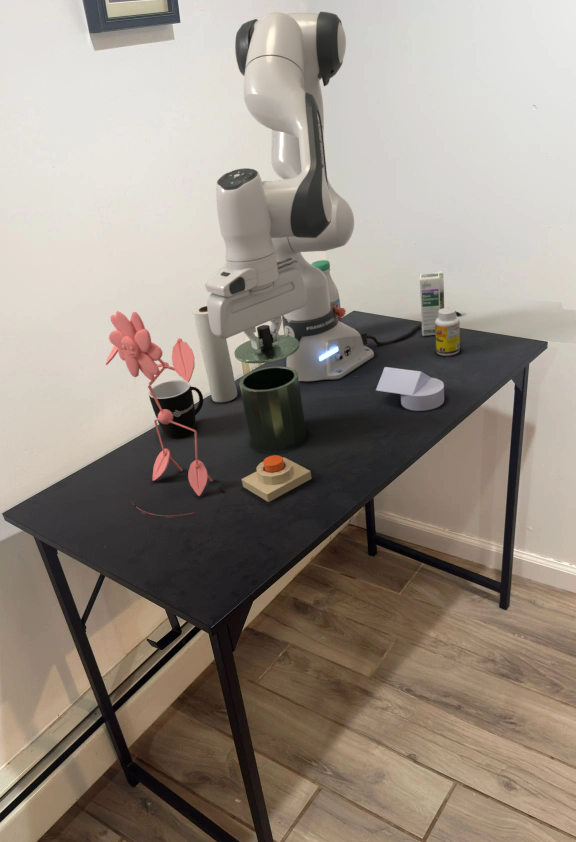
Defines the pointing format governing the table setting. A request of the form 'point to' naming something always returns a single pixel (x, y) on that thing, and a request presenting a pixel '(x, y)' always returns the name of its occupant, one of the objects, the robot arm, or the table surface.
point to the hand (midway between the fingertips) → (265, 344)
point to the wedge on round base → (413, 388)
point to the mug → (176, 406)
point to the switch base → (276, 480)
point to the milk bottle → (329, 284)
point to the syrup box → (431, 300)
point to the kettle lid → (267, 348)
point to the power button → (273, 464)
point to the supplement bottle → (447, 332)
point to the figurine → (141, 355)
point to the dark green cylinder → (273, 408)
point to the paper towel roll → (215, 359)
